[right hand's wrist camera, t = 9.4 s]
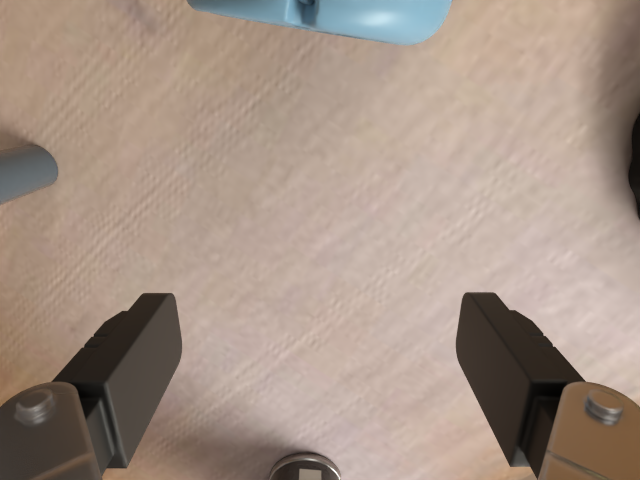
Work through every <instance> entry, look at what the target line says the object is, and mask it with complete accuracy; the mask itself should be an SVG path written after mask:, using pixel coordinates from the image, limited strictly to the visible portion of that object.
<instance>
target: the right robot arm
mask: <svg viewBox="0 0 640 480" xmlns="http://www.w3.org/2000/svg"><path fill="white" fill-rule="evenodd" d="M181 353H182V338H181V332H180V325H179V318H178V312H177V305H176V300H175V297H174V295H173V294H172V293H143V294H142V295H141V296H140V297H139V298H138V299H137V301H136V302H135V303H134V304H133V305H132V307H131V308H130V309H129V310H128V311H122V312H120V313H119V314H117V315H115V316H114V317H112V318H110V319H109V320H107V321H106V322H104V324H103V325H102V326H101V327H100V328H99V329H98V330H97V331H96V333H95V334H94V337H91V338H90V339H89V340H88V342H87V343H86V344H85V345H84V348H81V349H80V351H79V352H78V353H77V354H76V355H75V356H74V357H73V358H72V359H71V361H70V362H69V363H68V364H67V365H66V366H65V367H64V368H63V370H62V371H61V372H60V373H59V374H58V375H57V376H56V377H55V379H54V380H53V381H52V382H49V383H44V384H40V385H37V386H34V387H31V388H29V389H26V390H24V391H22V392H20V393H18V394H17V395H15V396H13V397H12V398H10V399H9V400H8V401H6V402H5V403H4V404H3V405H2V406H1V407H0V480H102V475H103V473H104V471H105V469H106V468H127V467H128V465H129V463H130V461H131V459H132V456H133V454H134V452H135V450H136V448H137V446H138V444H139V442H140V440H141V438H142V436H143V434H144V432H145V430H146V428H147V426H148V424H149V422H150V420H151V418H152V416H153V414H154V412H155V410H156V408H157V406H158V404H159V402H160V400H161V398H162V396H163V394H164V392H165V390H166V388H167V386H168V384H169V382H170V380H171V378H172V376H173V374H174V372H175V370H176V368H177V366H178V364H179V362H180V358H181ZM456 353H457V358H458V361H459V364H460V366H461V368H462V370H463V372H464V374H465V376H466V378H467V380H468V382H469V384H470V386H471V388H472V390H473V392H474V394H475V396H476V398H477V400H478V402H479V404H480V406H481V408H482V410H483V412H484V414H485V417H486V419H487V421H488V423H489V425H490V427H491V429H492V431H493V433H494V435H495V437H496V439H497V441H498V443H499V445H500V447H501V449H502V451H503V453H504V455H505V457H506V459H507V461H508V463H509V465H510V467H531V469H532V470H533V472H534V474H535V476H536V478H537V480H640V407H639V406H638V405H637V404H636V403H635V402H634V401H632V400H631V399H630V398H628V397H627V396H625V395H623V394H622V393H620V392H618V391H616V390H614V389H611V388H609V387H606V386H603V385H600V384H596V383H591V382H586V381H585V380H584V379H583V378H582V377H581V376H580V374H579V373H578V372H577V371H576V370H575V369H574V368H573V367H572V365H571V364H570V363H569V362H568V361H567V360H566V359H565V357H564V356H563V355H562V354H561V353H560V352H559V351H558V350H557V348H556V347H553V344H552V343H551V342H550V341H549V339H548V338H547V337H546V336H543V333H542V331H541V330H540V329H539V328H538V327H537V326H536V325H535V324H534V322H533V321H531V320H530V319H528V318H527V317H525V316H523V315H522V314H520V313H519V312H517V311H515V310H509V309H508V308H507V307H506V305H505V304H504V303H503V302H502V301H501V299H500V298H499V297H498V296H497V295H496V294H495V293H493V292H467V293H465V294H464V296H463V298H462V303H461V310H460V317H459V324H458V330H457V337H456ZM270 480H341V474H340V471H339V469H338V468H337V466H336V465H335V464H334V463H333V462H331V461H330V460H329V459H327V458H325V457H323V456H320V455H316V454H310V453H300V454H294V455H290V456H287V457H285V458H283V459H281V460H280V461H279V462H277V463H276V464H275V466H274V467H273V469H272V470H271V473H270Z"/></svg>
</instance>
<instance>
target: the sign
mask: <svg viewBox="0 0 640 480" xmlns="http://www.w3.org/2000/svg"><path fill="white" fill-rule="evenodd" d="M632 145H633V159H632V163H631V167H630V171H629V182H630V186H631V188H632V190H633V192H634V194H635V196H636V199H637V203H638V213H639V218H640V115H639V117H638V119H637V121H636V123H635V125H634V129H633V135H632Z"/></svg>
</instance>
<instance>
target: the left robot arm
mask: <svg viewBox="0 0 640 480" xmlns="http://www.w3.org/2000/svg"><path fill="white" fill-rule="evenodd" d="M187 2H188V4H189V5H190V6H191V7H192V8H193V9H195V10H197V11H204V12H209V13H213V14H217V15H222V16H227V17H233V18H238V19H244V20H249V21H255V22H261V23H267V24H272V25H278V26H284V27H290V28H296V29H302V30H308V31H314V32H320V33H326V34H332V35H339V36H345V37H351V38H357V39H364V40H370V41H377V42H383V43H390V44H397V45H414V44H417V43H420V42H423V41H425V40H426V39H428V38H429V37H431V36H432V35H433V34H434V33H435V32H436V31H437V30H438V29H439V28H440V27H441V25H442V24H443V22H444V20H445V18H446V16H447V14H448V11H449V8H450V5H451V3H452V0H187Z"/></svg>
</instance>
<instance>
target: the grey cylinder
mask: <svg viewBox="0 0 640 480" xmlns="http://www.w3.org/2000/svg"><path fill="white" fill-rule="evenodd" d="M57 175H58V167H57V164H56V161H55V160H54V158H53V157H52V155H51V154H50V153H49V152H48V151H46V150H45V149H43V148H41V147H39V146H36V145H24V146H19V147H15V148H10V149H6V150H1V151H0V205H2V204H5V203H7V202H10V201H12V200H15V199H17V198H20V197H22V196H25V195H28V194H30V193H33V192H35V191H38V190H40V189H43V188H45V187H48V186H50V185H52V184H53V183H54V182H55V180H56V178H57Z"/></svg>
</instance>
